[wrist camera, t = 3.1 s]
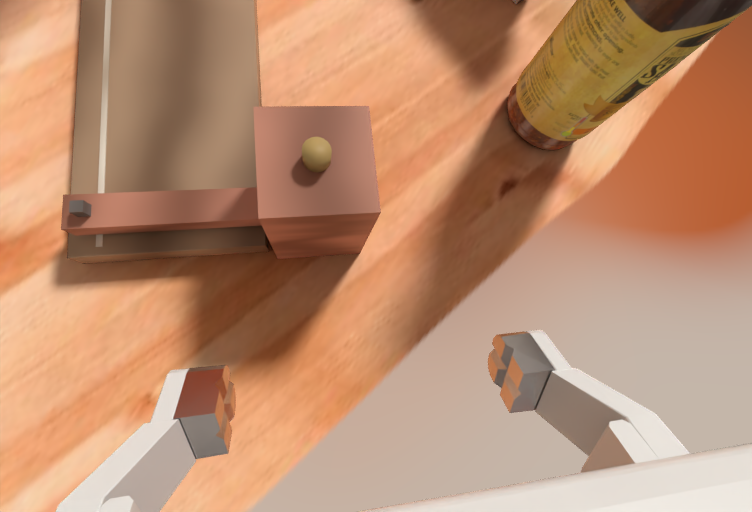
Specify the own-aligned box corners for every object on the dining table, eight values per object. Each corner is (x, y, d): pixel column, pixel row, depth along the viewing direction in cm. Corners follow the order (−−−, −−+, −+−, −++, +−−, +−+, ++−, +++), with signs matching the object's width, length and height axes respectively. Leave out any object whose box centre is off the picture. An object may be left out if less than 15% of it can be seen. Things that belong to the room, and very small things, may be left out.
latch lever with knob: (94, 271, 21) (-52, 227, 13) (97, 187, 22) (-36, 95, 14) (359, 253, 24) (383, 205, 15) (352, 178, 25) (371, 95, 16)
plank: (84, 263, 21) (66, 257, 20) (98, -59, 26) (85, -83, 24) (268, 251, 23) (265, 245, 22) (253, -49, 27) (250, -72, 26)
